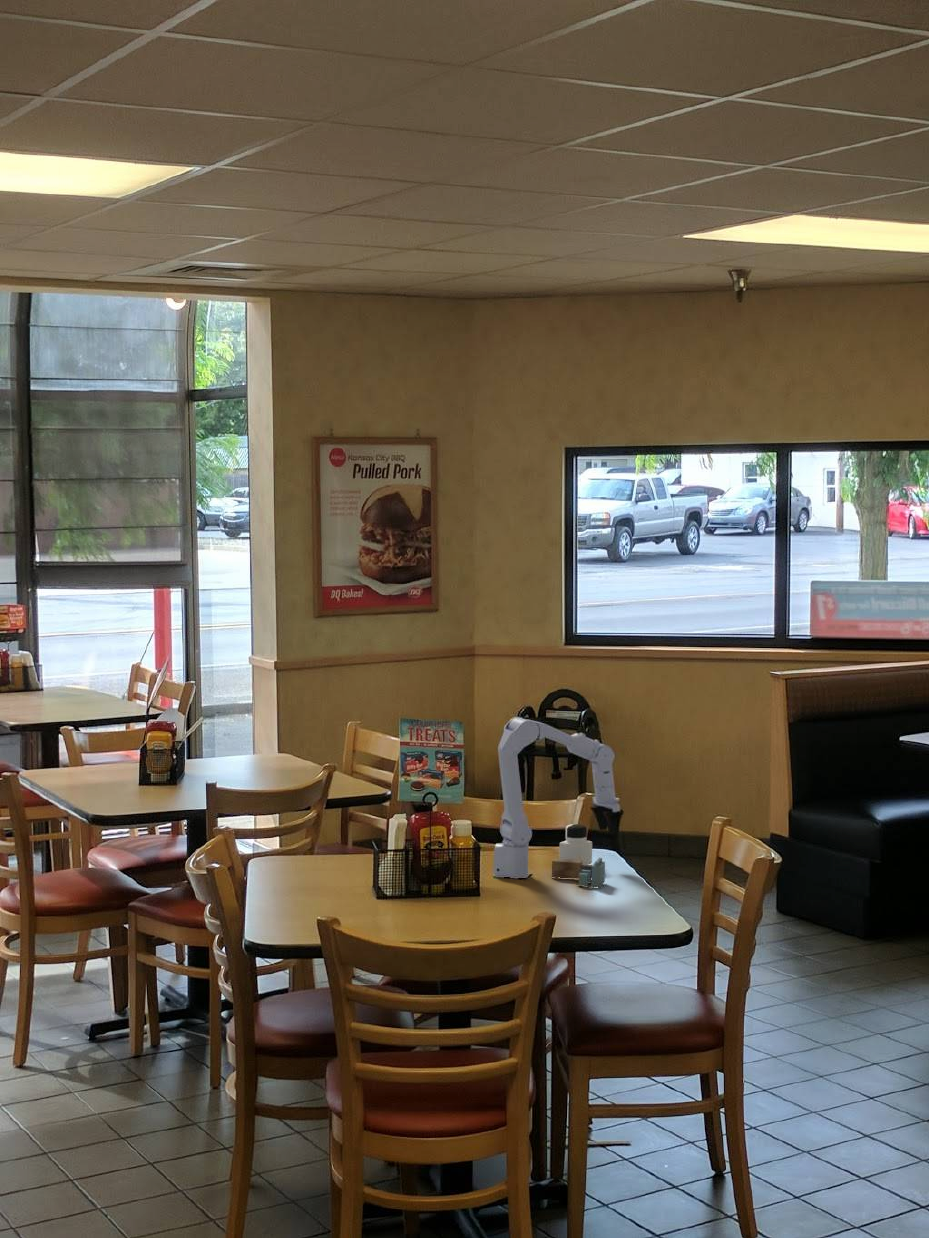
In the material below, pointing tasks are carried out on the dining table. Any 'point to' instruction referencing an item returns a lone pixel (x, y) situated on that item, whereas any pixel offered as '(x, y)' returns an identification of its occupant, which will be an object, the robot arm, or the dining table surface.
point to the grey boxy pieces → (593, 875)
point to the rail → (568, 868)
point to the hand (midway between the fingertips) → (609, 831)
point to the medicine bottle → (576, 845)
